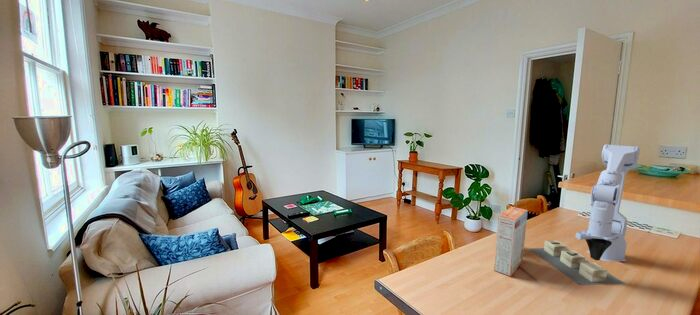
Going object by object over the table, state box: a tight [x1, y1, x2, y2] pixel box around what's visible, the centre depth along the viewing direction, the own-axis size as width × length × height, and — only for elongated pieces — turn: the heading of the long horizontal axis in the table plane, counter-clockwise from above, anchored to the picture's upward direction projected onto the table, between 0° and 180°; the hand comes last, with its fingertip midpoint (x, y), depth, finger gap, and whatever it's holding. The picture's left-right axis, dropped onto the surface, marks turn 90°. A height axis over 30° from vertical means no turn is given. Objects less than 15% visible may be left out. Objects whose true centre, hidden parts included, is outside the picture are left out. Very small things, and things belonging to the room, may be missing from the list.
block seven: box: [560, 250, 586, 268], centre depth 107 cm, size 5×5×4 cm
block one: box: [543, 239, 567, 256], centre depth 115 cm, size 5×5×4 cm
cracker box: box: [493, 206, 528, 277], centre depth 105 cm, size 14×6×21 cm, turn 134°
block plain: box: [579, 261, 608, 282], centre depth 99 cm, size 5×5×4 cm
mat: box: [528, 247, 626, 286], centre depth 107 cm, size 16×25×1 cm, turn 4°
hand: (594, 258), depth 98 cm, fingers closed
